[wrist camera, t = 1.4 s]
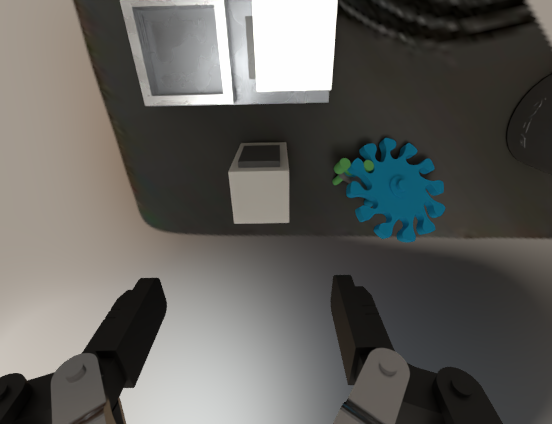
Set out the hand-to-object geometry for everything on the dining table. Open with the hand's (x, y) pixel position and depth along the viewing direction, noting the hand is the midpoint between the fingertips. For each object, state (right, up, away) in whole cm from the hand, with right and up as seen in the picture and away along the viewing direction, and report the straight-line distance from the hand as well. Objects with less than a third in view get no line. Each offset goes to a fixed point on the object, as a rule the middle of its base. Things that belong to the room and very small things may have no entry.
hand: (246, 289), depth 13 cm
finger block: (0, +9, +16) cm, 18 cm away
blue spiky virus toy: (+12, +8, +16) cm, 22 cm away
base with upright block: (-2, +17, +11) cm, 20 cm away
